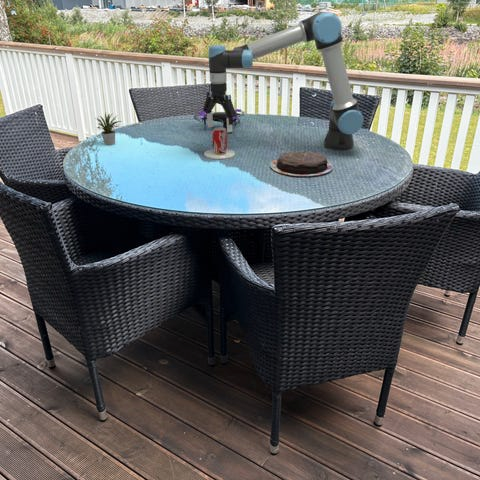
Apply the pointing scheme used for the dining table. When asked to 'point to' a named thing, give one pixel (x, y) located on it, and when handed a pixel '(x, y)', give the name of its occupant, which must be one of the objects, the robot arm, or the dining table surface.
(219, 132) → the soda can
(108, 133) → the house plant
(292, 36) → the robot arm
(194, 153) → the dining table surface
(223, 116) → the drone
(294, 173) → the chocolate cake
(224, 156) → the coaster
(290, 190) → the dining table surface
